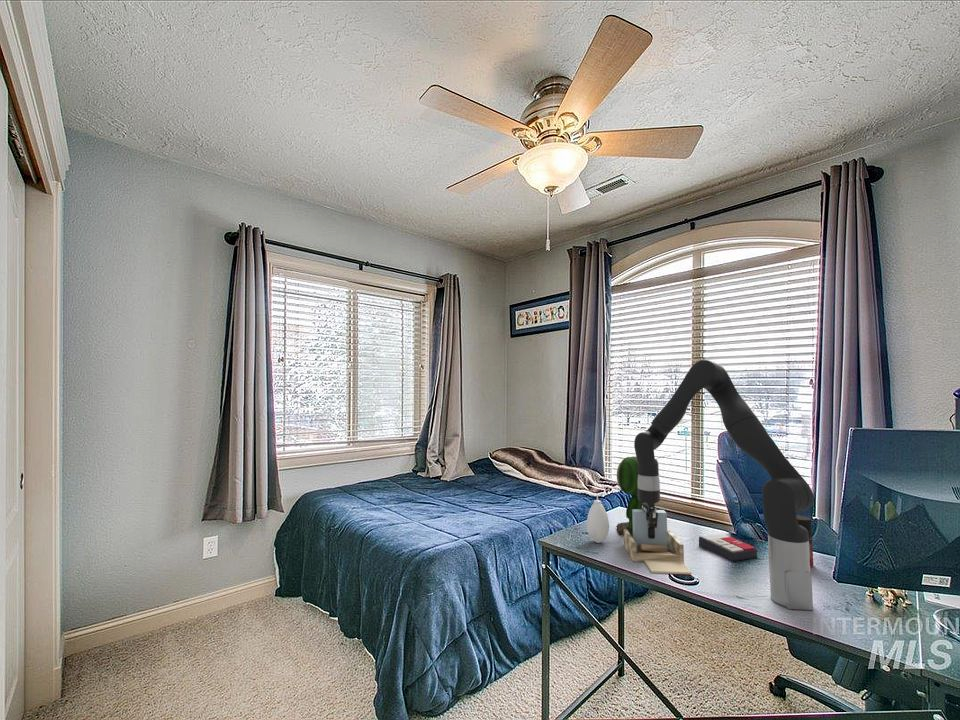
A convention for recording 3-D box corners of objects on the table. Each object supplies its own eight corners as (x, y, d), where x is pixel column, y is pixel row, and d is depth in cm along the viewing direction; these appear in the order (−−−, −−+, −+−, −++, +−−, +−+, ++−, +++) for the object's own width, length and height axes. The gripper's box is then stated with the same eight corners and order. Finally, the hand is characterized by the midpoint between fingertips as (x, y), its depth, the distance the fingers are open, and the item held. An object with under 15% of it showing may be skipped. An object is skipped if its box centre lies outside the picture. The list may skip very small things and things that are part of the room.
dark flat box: (733, 551, 149) (698, 534, 163) (733, 563, 149) (698, 546, 163) (757, 547, 153) (721, 531, 167) (757, 559, 153) (721, 542, 167)
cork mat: (691, 574, 139) (691, 572, 139) (651, 572, 140) (651, 570, 140) (681, 563, 147) (681, 561, 148) (644, 561, 149) (644, 559, 149)
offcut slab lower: (673, 562, 149) (673, 555, 149) (642, 561, 150) (642, 554, 150) (670, 559, 152) (670, 552, 152) (640, 557, 153) (639, 551, 153)
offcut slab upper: (667, 552, 153) (666, 546, 154) (642, 550, 152) (641, 543, 153) (663, 554, 155) (662, 548, 156) (638, 552, 154) (637, 546, 155)
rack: (684, 563, 147) (683, 544, 148) (633, 561, 149) (632, 543, 149) (670, 547, 162) (669, 530, 162) (623, 545, 164) (623, 529, 164)
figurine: (625, 522, 191) (623, 452, 193) (672, 532, 178) (670, 457, 180) (606, 532, 179) (604, 456, 181) (655, 543, 165) (652, 462, 167)
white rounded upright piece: (598, 547, 162) (597, 497, 163) (583, 540, 169) (582, 492, 170) (613, 543, 166) (612, 494, 167) (598, 537, 173) (597, 490, 174)
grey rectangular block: (667, 553, 156) (666, 512, 157) (635, 552, 157) (634, 512, 158) (664, 549, 159) (663, 510, 160) (633, 548, 161) (632, 509, 161)
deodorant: (798, 559, 150) (796, 514, 151) (817, 565, 145) (815, 518, 146) (787, 562, 148) (785, 516, 149) (806, 568, 142) (803, 521, 143)
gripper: (665, 492, 152) (666, 543, 151) (654, 483, 166) (655, 530, 165) (642, 491, 153) (644, 542, 152) (633, 482, 167) (634, 529, 166)
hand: (649, 536), depth 159 cm, fingers closed on grey rectangular block, 3 cm apart
